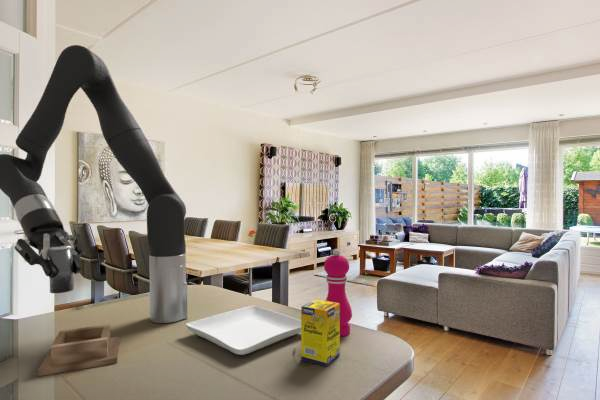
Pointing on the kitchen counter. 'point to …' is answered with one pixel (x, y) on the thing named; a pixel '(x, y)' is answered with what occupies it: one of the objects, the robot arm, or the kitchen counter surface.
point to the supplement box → (320, 332)
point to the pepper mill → (338, 287)
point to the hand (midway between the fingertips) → (66, 273)
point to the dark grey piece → (62, 268)
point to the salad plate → (246, 328)
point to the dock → (80, 350)
